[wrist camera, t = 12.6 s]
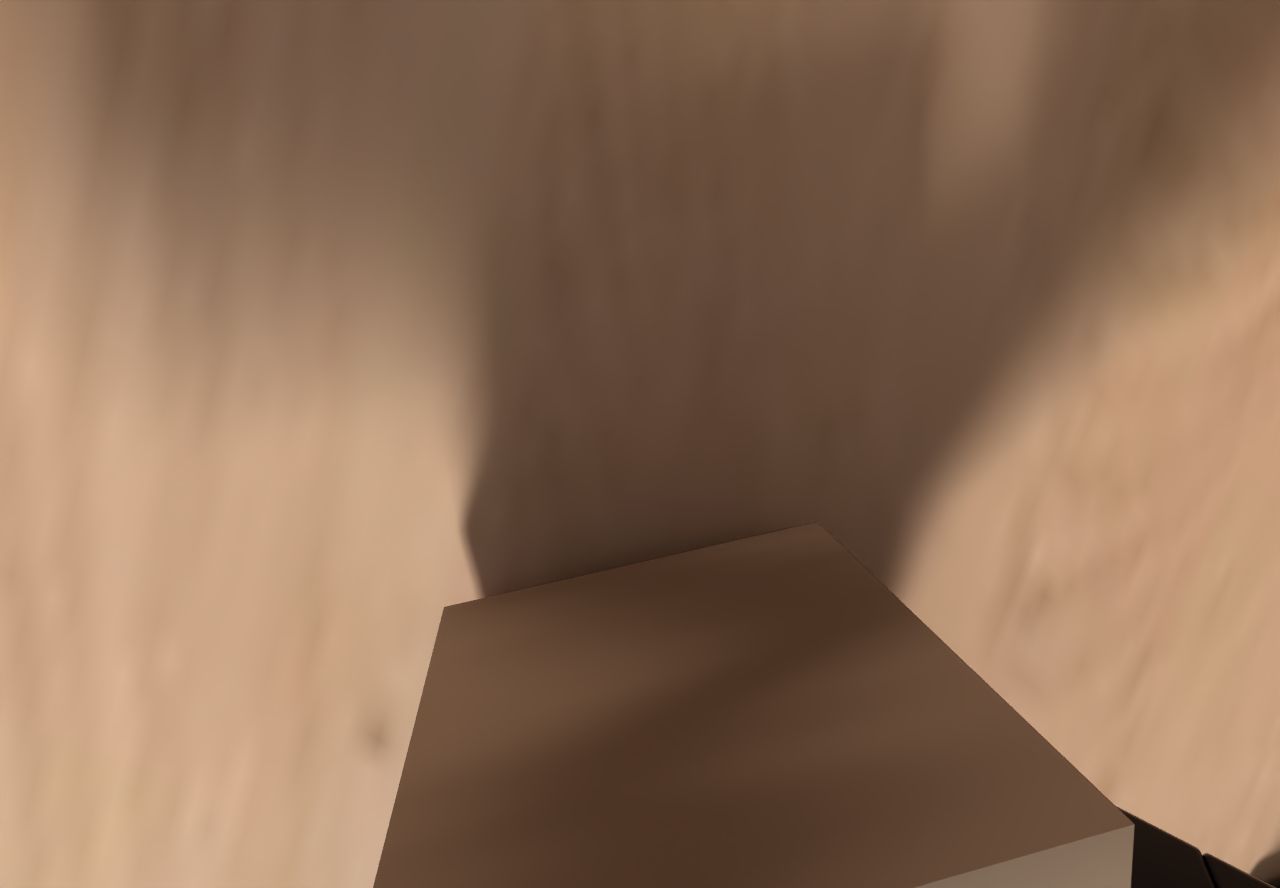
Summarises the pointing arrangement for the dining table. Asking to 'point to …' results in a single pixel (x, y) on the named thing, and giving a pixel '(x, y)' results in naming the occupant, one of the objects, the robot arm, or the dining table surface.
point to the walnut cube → (730, 741)
